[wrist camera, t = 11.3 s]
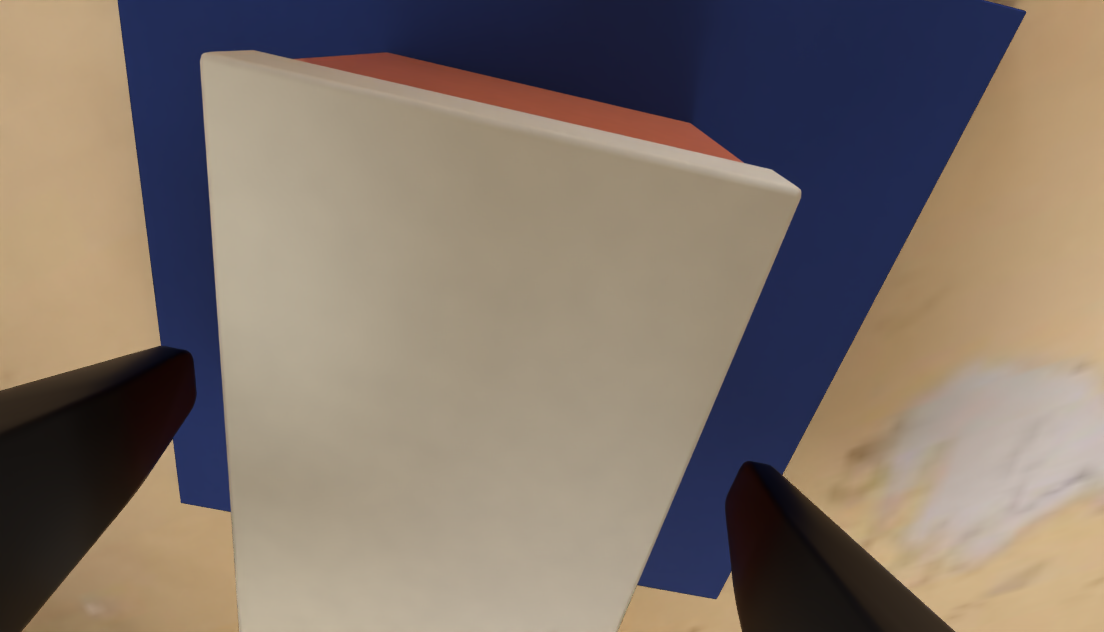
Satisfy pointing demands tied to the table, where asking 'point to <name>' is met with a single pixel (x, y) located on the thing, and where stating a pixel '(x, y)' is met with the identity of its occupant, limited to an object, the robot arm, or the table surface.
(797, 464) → the table surface
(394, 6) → the blue cloth
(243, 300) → the box
